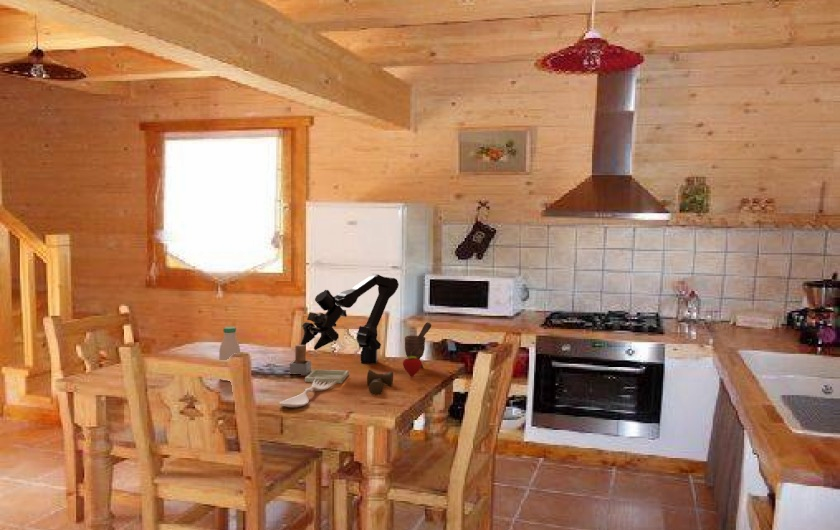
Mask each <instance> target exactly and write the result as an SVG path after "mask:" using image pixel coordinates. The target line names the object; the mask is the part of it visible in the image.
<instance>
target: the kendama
mask: <svg viewBox="0 0 840 530" xmlns="http://www.w3.org/2000/svg"><path fill="white" fill-rule="evenodd" d="M393 383H394V372H393V371H389V372H386V373H376V372H374V371H373V370H371V369H368V370H367V376H366V384H367V386H368V392H369V393H370V394H371V395H373V394H375V396H378V394H379V395H381V394H382V393H383V390H384V387H385V385H386V386H388V387H393ZM384 384H385V385H384Z"/></svg>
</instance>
